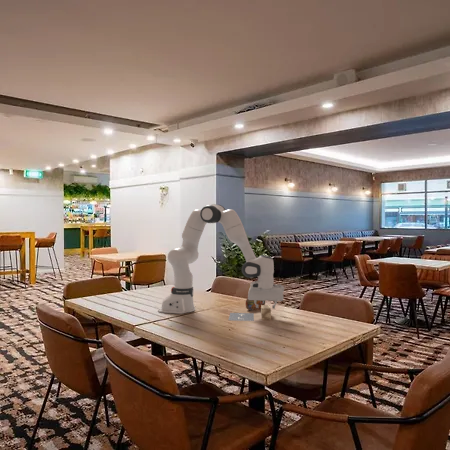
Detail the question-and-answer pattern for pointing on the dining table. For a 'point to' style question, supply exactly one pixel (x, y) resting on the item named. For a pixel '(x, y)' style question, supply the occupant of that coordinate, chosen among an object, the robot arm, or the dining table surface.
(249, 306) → the tin
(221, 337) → the dining table surface
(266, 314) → the oak block
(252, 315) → the card
